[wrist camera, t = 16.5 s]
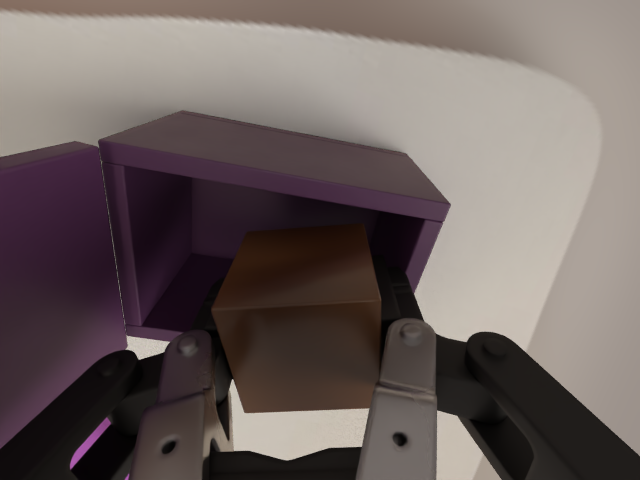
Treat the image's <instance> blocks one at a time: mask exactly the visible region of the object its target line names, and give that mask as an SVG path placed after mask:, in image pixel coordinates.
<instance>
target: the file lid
mask: <svg viewBox="0 0 640 480" xmlns="http://www.w3.org/2000/svg"><path fill="white" fill-rule="evenodd" d="M127 346H128V344H127V338H126V331H125V324H124V317H123V310H122V303H121V297H120V290H119V283H118V276H117V269H116V263H115V256H114V249H113V242H112V235H111V229H110V222H109V215H108V208H107V201H106V195H105V188H104V181H103V174H102V167H101V161H100V154H99V149H98V147H97V146H93V145H89V144H85V143H81V142H77V141H74V142H69V143H64V144H60V145H55V146H50V147H46V148H41V149H37V150H32V151H27V152H23V153H18V154H13V155H9V156H4V157H0V449H1V448H2V447H3V446H4V445H5V444H6V443H7V442H8V441H9V440H10V439H12V438H13V437H14V436H15V435H16V434H17V433H18V432H19V431H20V430H21V429H23V428H24V427H25V426H26V425H27V424H28V423H29V422H30V421H31V420H32V419H34V418H35V417H36V416H37V415H38V414H39V413H40V412H41V411H42V410H43V409H44V408H46V407H47V406H48V405H49V404H50V403H51V402H52V401H53V400H54V399H55V398H57V397H58V396H59V395H60V394H61V393H62V392H63V391H64V390H65V389H66V388H68V387H69V386H70V385H71V384H72V383H73V382H74V381H75V380H76V379H77V378H79V377H80V376H81V375H82V374H83V373H84V372H85V371H86V370H87V369H88V368H90V367H91V366H92V365H93V364H94V363H95V362H96V361H98V360H99V359H100V358H102V357H104V356H106V355H108V354H110V353H112V352H115V351H119V350H125V349H126V348H127Z"/></svg>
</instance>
